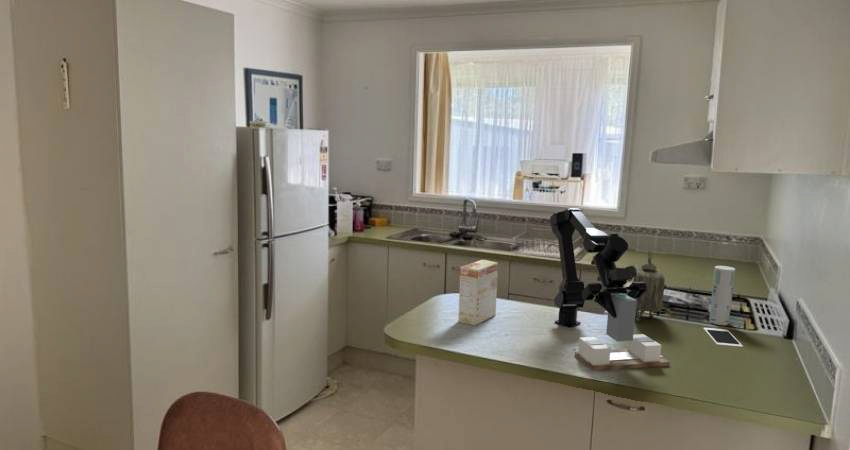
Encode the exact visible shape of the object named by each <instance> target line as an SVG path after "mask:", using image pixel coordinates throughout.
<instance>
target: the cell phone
mask: <svg viewBox="0 0 850 450" xmlns="http://www.w3.org/2000/svg"><path fill="white" fill-rule="evenodd" d="M703 330H704V331H705V332H706V333H707V335H708V336H709V337H710V338H711V339H712V341H713V342H714V344H716V345H717V346H718V345H719V346H729V347H736V348H737V347H740V348H743V347H744V345H742V343H741V342H740V341H739V340H738V339H737V338H736V337H735V336H734V335H733V333H731V332H730V330H728V329H726V328H724V329H723V328H713V327H711V328H710V327H703Z"/></svg>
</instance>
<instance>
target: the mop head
mask: <svg viewBox="0 0 850 450" xmlns="http://www.w3.org/2000/svg"><path fill="white" fill-rule="evenodd" d="M652 253H653V252H652V250H651V249H649V250H648V255H647V257H648V258H647V262H644V263H643V264H641V266H639V267H638V266H636V267H635V266H634V267H635V269H636V273H637V275H636V276H635V277H633V279H632V280H633V281H632V282H644V283H646V285H647V287H648V290H647V291H646V292H645V293H644V294H643V295H642V296H641V297H640V298H635V300H637V301H636V312H635V314H636V313H639V315H638V317H637V316H636V317H635V321H636V322H641V320H642V319H641V317H642V315H643V314H644V313H645V312H648V313H649V314H648V318H649V319H650V320H653V318H654V314H652V313H658V312H660V311H662V309H663V304H664V303H663V301H664V293H665V291H664V290H665V283H666V282H665V275H664V273H663V272H662V271H660V270H659V269H657V266H656V265H655V263H654V262H652V259H653V254H652Z"/></svg>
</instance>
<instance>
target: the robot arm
mask: <svg viewBox="0 0 850 450" xmlns="http://www.w3.org/2000/svg"><path fill="white" fill-rule="evenodd" d="M549 225H550V227H551V231H552V233H553V234H554V237H555V236H556V238H557V241H558V242H557V244H558V249H559V259H560V267H561V275H562V280H561V283H560V285H559V287H558V293H557V295H556V296H555V297H554V301H553V302H554V306H556V307H557V308H559V310H558V319H557V320H554V323H556V324H559V325H561V326H564V327H568V328H572V327H575V326H578V325H580V324H581V322H580V321H578V320H577V319H578V308H584V304H585V302H586V301H593V302H594V303H597V304H598V305H599V306H601V307H602V308H603V309H604V310H605V311H606V312H607V314H608V313H609V314H610V315H611V316H612V317H613V318H616V317H617V316H616V311H615V309H614V306H613V303H612V300H611V295H618V294H626V295H628V296H629V297H631V298H633V299H635V298H640V297H641V296H642V295H643V294H644V293H645V292H646V291H647V290H648V287H647V285H646V283H644V282H633V281H632V282H631V283H630V285H628V286H624V285H626V284H627V283H628V280H633V278H634V277H635V276H636V275H637V273H636V269H635V265H628V266H626V267H617V265H616V262H618V261H619V260H620V259H621V258H622V256H623V255H624V254H625V253H626V252H627V251H628V249H629V244H628V241H626V240H625V238H623V237H621V236H619V234H618V233H612V232H611V233H610V235H609V234H608V233H606V232H605V231H603V230H599V229H597V228H596V227H595V226H594V225H593V224H592V222H590V220H589V219H588V218H587V217H586V216H585V214H584V212H583V210H582V209H580V208H567V209H565V210H562V211H559V212H554V213H552V215H551V216H550V218H549ZM575 230H576V232H578V234H579V235H580V237H581V238H582V240H583V241H582V245H583V248H584V250H585V251H586V252H587V253H589V254H592V253H593V254H595V255H594V256H592V260H591V261H590V265H591V266H595V269H596V271H597V275H598V276H597V278H596V280H597V281H598V282H595V283H593V282H589V283H587V285H586V286H585V283H584V281H582V280H580V278H578V274H577V273H578V271H577V266H576V258H575V257H576V256H575V251H574V250H575V249H574V242H573V241H574V240H573V235H574V233H575ZM599 282H600V283H599Z"/></svg>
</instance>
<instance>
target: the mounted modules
mask: <svg viewBox="0 0 850 450" xmlns="http://www.w3.org/2000/svg"><path fill="white" fill-rule="evenodd" d="M578 341H579V342H578V351H577V352H578V353H579V354H580V355H582V356H584V357H585V358H586V359H587V360H589V361H590V363H591V364H592V365H605V364H609V363H610V351H611V350H612V348H611V347H610V346H608V345H607V344H606V343H605V342H603V341H602V340H600V339H598V337H596V336H587V337H586V336H584V337H583V336H581V337H579V338H578ZM626 346H627V347H626V349H627V350H628V351H629V352H632V353H633V354H635V355H636V356H638V357H639V358H640V359H641V360H642V361H644V362H652V361H660V355H661V351H662V344H660V343H659V342H657V341H655V340H654V339H652V338H651V337H649V336H647V335H645V334H644V333H641V334H639V333H638V334H633V341H627V345H626Z"/></svg>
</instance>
